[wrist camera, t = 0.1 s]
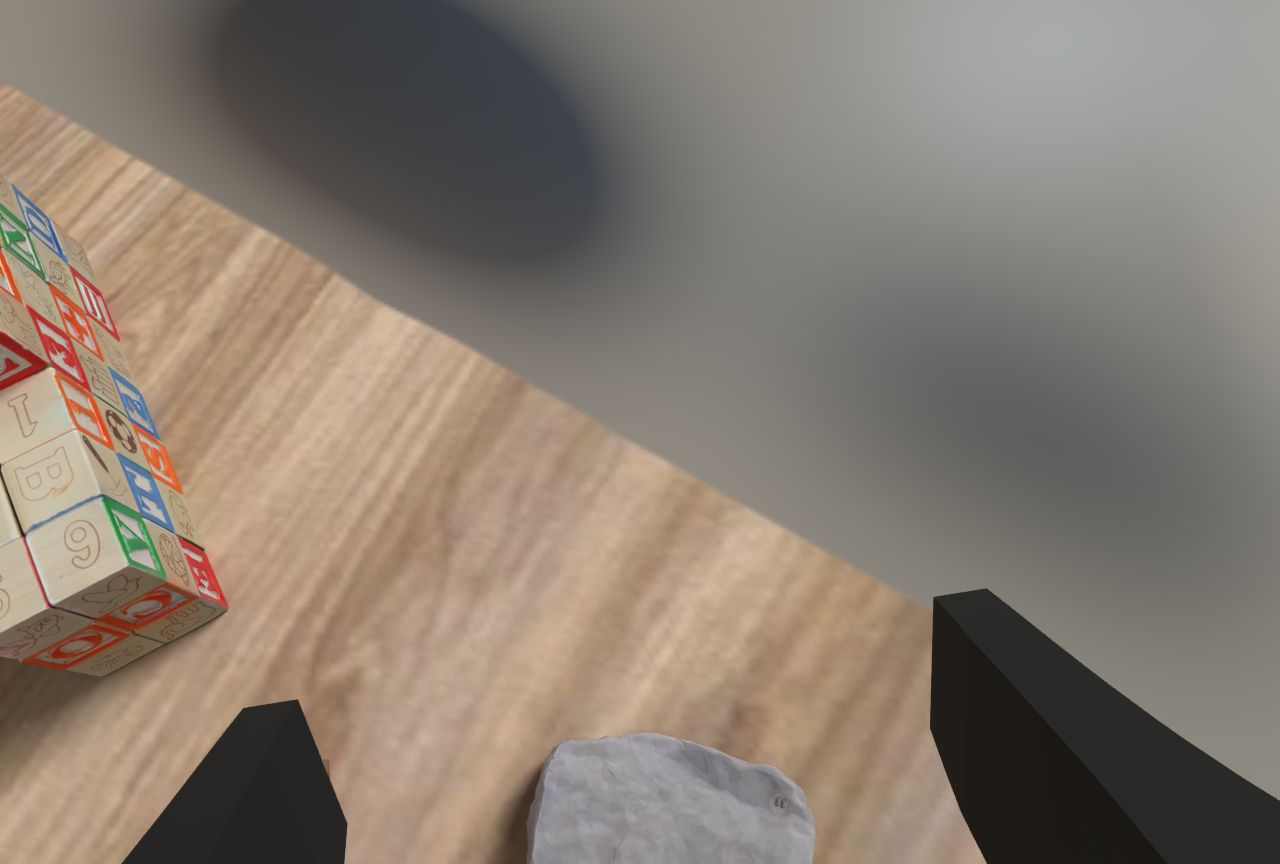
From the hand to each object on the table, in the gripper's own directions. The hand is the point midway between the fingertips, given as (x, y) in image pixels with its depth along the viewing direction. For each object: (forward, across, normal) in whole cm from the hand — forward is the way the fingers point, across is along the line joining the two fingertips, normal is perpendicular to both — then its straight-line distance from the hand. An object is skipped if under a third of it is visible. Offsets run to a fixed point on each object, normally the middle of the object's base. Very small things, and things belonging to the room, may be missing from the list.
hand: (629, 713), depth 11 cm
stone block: (+19, 0, +27) cm, 33 cm away
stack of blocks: (+35, +24, +12) cm, 44 cm away
